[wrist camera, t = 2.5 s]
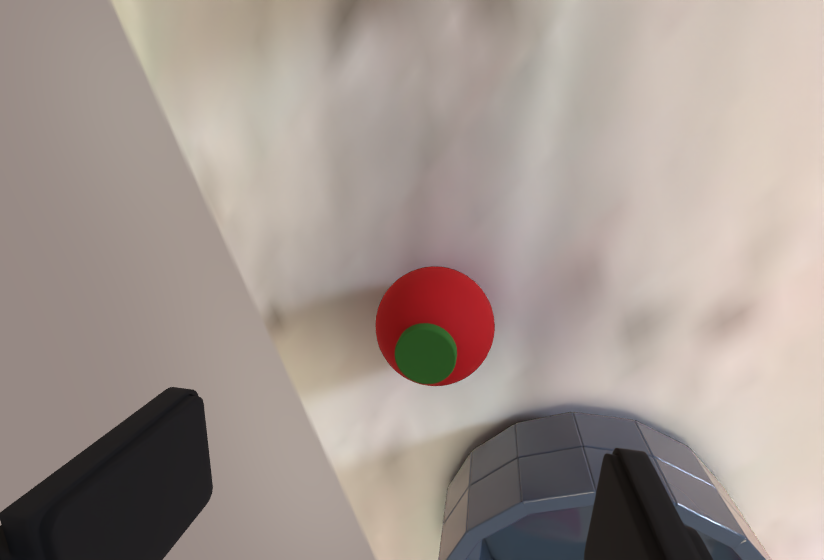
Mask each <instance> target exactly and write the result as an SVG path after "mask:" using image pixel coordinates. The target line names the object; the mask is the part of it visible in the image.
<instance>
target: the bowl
mask: <svg viewBox="0 0 824 560" xmlns="http://www.w3.org/2000/svg"><path fill="white" fill-rule="evenodd" d="M615 448H623V449H630V450H637V451H644V452H646V454H647V455H648V457H649V458H650V460H651V462H652V464H653V466H654V468H655V470H656V472H657V474H658V476H659V478H660V480H661V482H662V483H663V485H664V487H665V489H666V491H667V493H668V495H669V497H670V499H671V501H672V503H673V505H674V506H675V508H676V510H677V512H678V514H679V516H680V518H681V520H682V522H683V524H684V526H688V527H692V528H693V529H695V530H696V531H697V532H698V534H699V535H700V537H701V538H702V540H703V542H704V544H705V545H706V547H707V549H708V551H709V553H710V555H711V556H712V558H713V560H772V559H771V558H770V556H769V554H768V553H767V551H766V550H765V548H764V547H763V545H762V544H761V542H760V541H759V539H758V538H757V536H756V535H755V533H754V532H753V531H752V530H751V527H750V526H749V524H748V523H747V521H746V520H745V518H744V517H743V515H742V514H741V512H740V511H739V509H738V508H737V506H736V505H735V503H734V502H733V500H732V499H731V497H730V496H729V494H728V493H727V491H726V490H725V488H724V487H723V486H722V484H721V483H720V482H719V481H718V480H717V479H716V477H715V476H714V475H713V474H712V473H711V472H710V471H709V469H708V468H707V467H706V466H705V465H704V464H703V462H702V461H701V460H700V459H699V458H698V457H697V455H696V454H695V453H694V452H693V451H692V450H691V449H690V448H689V447H688V446H686V445H684V444H682V443H680V442H678V441H676V440H674V439H672V438H670V437H668V436H666V435H664V434H662V433H660V432H658V431H656V430H654V429H652V428H650V427H648V426H646V425H644V424H642V423H640V422H638V421H636V420H631V419H624V418H616V417H608V416H601V415H593V414H585V413H578V412H568V413H563V414H558V415H553V416H548V417H543V418H538V419H533V420H528V421H523V422H518V423H516V424H513V425H512V426H510V427H509V428H507V429H505V430H504V431H502V432H501V433H499V434H497V435H496V436H494V437H493V438H491V439H489V440H488V441H486V442H485V443H483V444H481V445H480V446H478V447H477V448H475V449H474V450H473V451H471V452H470V454H469V456H468V457H467V459H466V460H465V462H464V463H463V465H462V466H461V468H460V469H459V471H458V472H457V474H456V476H455V477H454V479H453V480H452V482H451V483H450V485H449V486H448V489H447V496H446V504H445V512H444V520H443V527H442V535H441V543H440V551H439V558H438V560H584V551H585V546H586V541H587V536H588V531H589V526H590V521H591V516H592V511H593V506H594V501H595V496H596V491H597V486H598V481H599V476H600V471H601V466H602V461H603V457H604V455H605V454H606V453H607V454H612V453H613V451H614V449H615Z"/></svg>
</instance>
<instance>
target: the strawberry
mask: <svg viewBox="0 0 824 560" xmlns="http://www.w3.org/2000/svg"><path fill="white" fill-rule="evenodd" d="M494 327H495V324H494V316H493V311H492V308H491V305H490V303H489V300H488V299H487V297H486V295H485V293H484V292H483V291H482V289H481V288H480V287H479V286H478V285H477V284H476V283H475V282H474V281H473V280H472V279H470V278H469V277H468V276H466V275H464V274H463V273H461V272H458V271H456V270H453V269H449V268H445V267H424V268H420V269H417V270H414V271H411V272H409V273H407V274H405V275H404V276H402V277H401V278H399V279H398V280H397V281H396V282H395V283H394V284H393V285H392V286H391V287H390V288H389V289H388V290H387V292H386V293H385V295H384V296H383V298H382V300H381V302H380V305H379V308H378V311H377V316H376V335H377V341H378V344H379V347H380V350H381V352H382V354H383V356H384V357H385V359H386V360H387V362H388V363H389V364H390V366H391V367H392V368H393V369H394V370H395V371H396V372H398V373H399V374H400V375H402V376H403V377H405V378H407V379H408V380H411V381H413V382H415V383H419V384H422V385H428V386H443V385H449V384H452V383H455V382H458V381H460V380H462V379H464V378H466V377H468V376H469V375H470V374H472V373H473V372H474V371H475V370H476V369H477V368H478V367H479V366H480V365H481V364H482V363H483V361H484V360H485V358H486V356H487V354H488V352H489V350H490V348H491V345H492V342H493V337H494Z"/></svg>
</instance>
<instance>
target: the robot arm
mask: <svg viewBox="0 0 824 560" xmlns="http://www.w3.org/2000/svg"><path fill="white" fill-rule="evenodd" d="M212 489H213V485H212V476H211V468H210V458H209V448H208V440H207V430H206V421H205V413H204V403H203V400H202V398H201V397H198V394H197V392H196V391H194V390H191V389H184V388H176V387H170V388H168V389H166V390H165V391H163V392H162V393H161V394H159V395H158V396H157V397H155V398H154V399H153V400H151V401H150V402H148V403H147V404H146V405H145V406H143V407H142V408H140V409H139V410H138V411H136V412H135V413H134V414H132V415H131V416H130V417H128V418H127V419H126V420H124V421H123V422H122V423H120V424H119V425H118V426H116V427H115V428H114V429H112V430H111V431H109V432H108V433H107V434H105V435H104V436H103V437H101V438H100V439H99V440H97V441H96V442H95V443H93V444H92V445H91V446H89V447H88V448H87V449H85V450H84V451H82V452H81V453H80V454H78V455H77V456H76V457H74V458H73V459H72V460H70V461H69V462H68V463H66V464H65V465H64V466H62V467H61V468H60V469H58V470H57V471H55V472H54V473H53V474H51V475H50V476H49V477H47V478H46V479H45V480H43V481H42V482H41V483H40V484H38V485H37V486H35V487H34V488H33V489H31V490H30V491H29V492H28V493H26V494H25V495H23V496H22V497H21V498H19V499H18V500H17V501H15V502H14V503H12V504H11V505H10V506H8V507H7V508H6V509H4V510H3V511H2V512H0V521H1V524H2V525H1V526H0V560H163V558H164V557H165V556H166V554H167V553H168V552H169V551H170V550H171V548H172V547H173V546H174V544H175V543H176V542H177V541H178V540H179V538H180V537H181V536H182V534H183V533H184V532H185V530H186V529H187V528H188V527H189V526H190V524H191V523H192V522H193V521H194V519H195V518H196V517H197V516H198V514H199V513H200V512H201V511H202V509H203V508H204V507H205V506H206V504H207V503H208V501H209V499H210V497H211V494H212ZM584 560H713V558H712V556H711V555H710V553H709V551H708V549H707V547H706V545H705V544H704V542H703V540H702V538H701V537H700V535H699V534H698V532H697V531H696V530H695V529H693V528H692V527H688V526H684V524H683V522H682V520H681V518H680V516H679V514H678V512H677V510H676V508H675V506H674V505H673V503H672V501H671V499H670V497H669V495H668V493H667V491H666V489H665V487H664V485H663V483H662V482H661V480H660V478H659V476H658V474H657V472H656V470H655V468H654V466H653V464H652V462H651V460H650V458H649V457H648V455H647V454H646V452H644V451H637V450H630V449H623V448H615V449H614V451H613V453H612V454H607V453H606V454H605V455H604V457H603V461H602V466H601V471H600V476H599V481H598V486H597V491H596V496H595V501H594V506H593V511H592V516H591V521H590V526H589V531H588V536H587V541H586V546H585V551H584Z"/></svg>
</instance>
